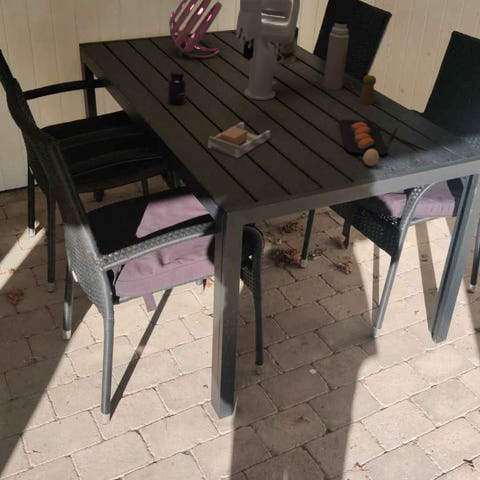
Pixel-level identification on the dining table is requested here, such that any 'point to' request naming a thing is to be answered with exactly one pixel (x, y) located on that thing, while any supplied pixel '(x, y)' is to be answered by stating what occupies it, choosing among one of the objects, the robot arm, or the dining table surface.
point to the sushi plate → (365, 137)
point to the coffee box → (286, 50)
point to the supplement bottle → (176, 88)
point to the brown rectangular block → (234, 136)
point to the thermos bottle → (336, 55)
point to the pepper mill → (367, 90)
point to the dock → (242, 147)
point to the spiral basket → (189, 26)
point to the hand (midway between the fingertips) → (248, 57)
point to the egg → (371, 157)
